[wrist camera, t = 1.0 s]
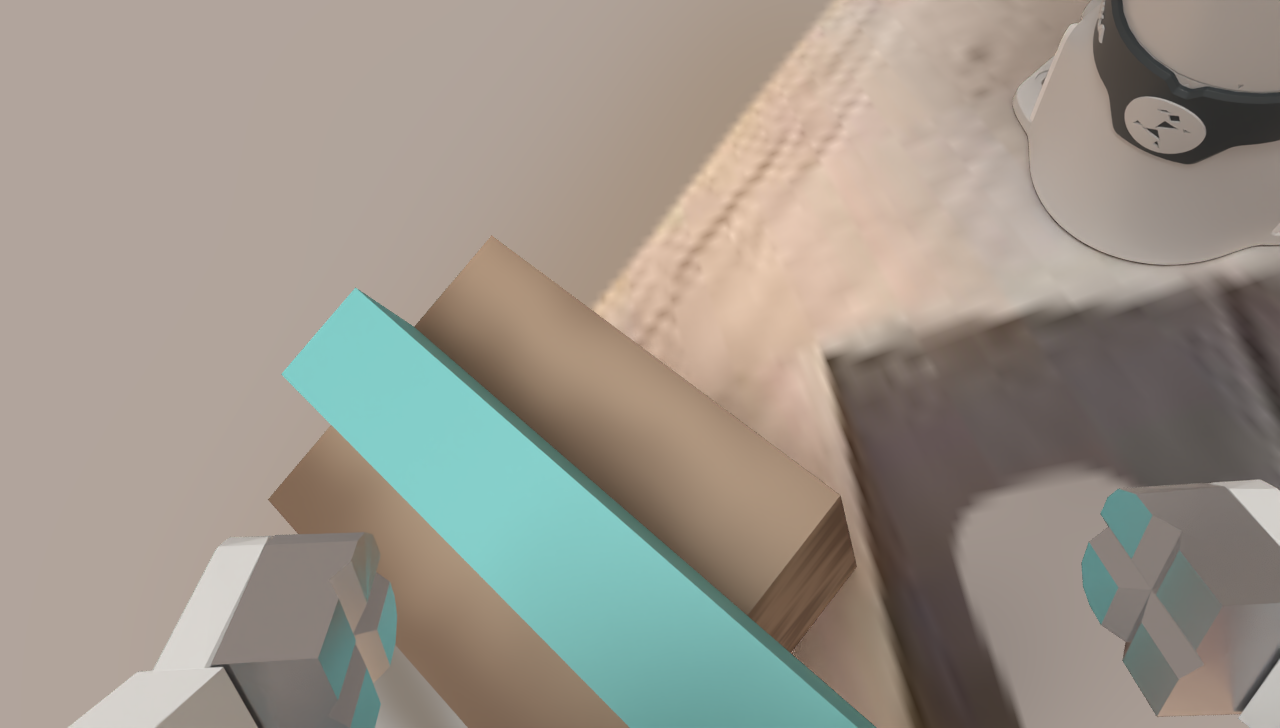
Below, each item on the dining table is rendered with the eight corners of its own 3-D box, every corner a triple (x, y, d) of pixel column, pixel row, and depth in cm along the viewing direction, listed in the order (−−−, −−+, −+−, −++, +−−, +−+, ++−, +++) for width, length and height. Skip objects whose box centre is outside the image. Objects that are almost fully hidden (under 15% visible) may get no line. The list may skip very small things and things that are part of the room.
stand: (664, 416, 52) (491, 235, 29) (856, 566, 46) (840, 495, 23) (446, 686, 51) (69, 733, 27) (617, 879, 45) (325, 1159, 21)
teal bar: (414, 326, 28) (355, 287, 25) (1050, 878, 19) (1087, 929, 15) (348, 404, 28) (281, 374, 25) (960, 1003, 18) (978, 1081, 15)
